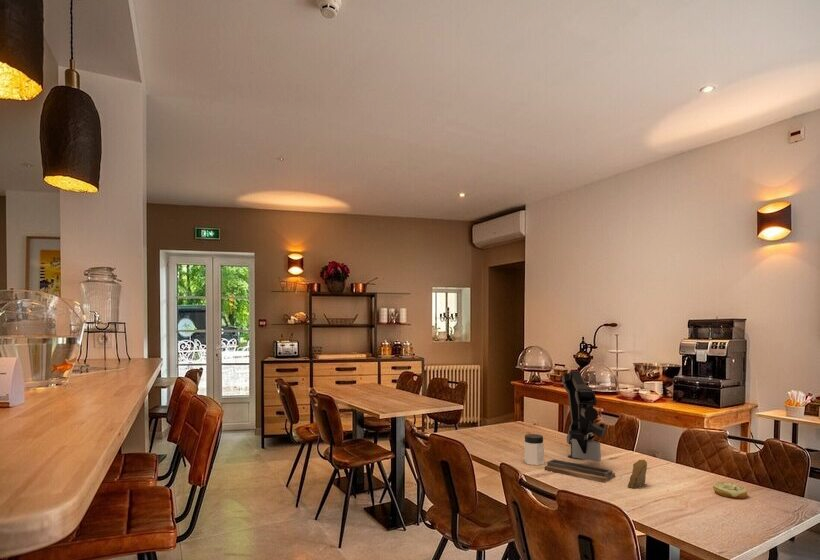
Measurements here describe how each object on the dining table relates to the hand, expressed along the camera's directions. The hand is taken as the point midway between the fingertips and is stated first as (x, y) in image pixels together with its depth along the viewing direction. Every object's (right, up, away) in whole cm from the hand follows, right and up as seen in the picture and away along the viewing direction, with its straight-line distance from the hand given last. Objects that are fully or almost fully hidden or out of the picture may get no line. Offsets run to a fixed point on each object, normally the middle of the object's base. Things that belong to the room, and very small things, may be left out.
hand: (586, 452), depth 230 cm
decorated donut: (+41, -4, -37) cm, 55 cm away
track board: (-6, -5, -11) cm, 13 cm away
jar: (-22, -7, +5) cm, 23 cm away
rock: (+11, -4, -26) cm, 28 cm away
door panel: (0, -3, 0) cm, 3 cm away
